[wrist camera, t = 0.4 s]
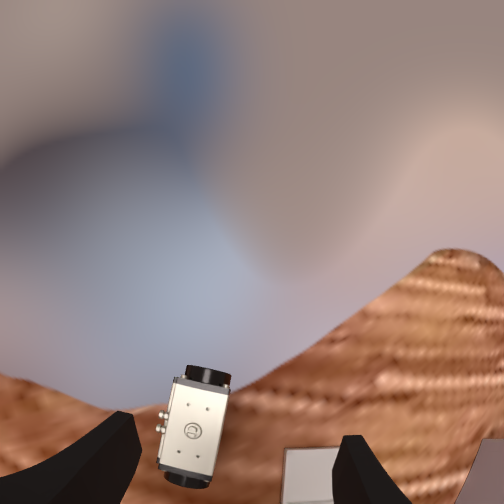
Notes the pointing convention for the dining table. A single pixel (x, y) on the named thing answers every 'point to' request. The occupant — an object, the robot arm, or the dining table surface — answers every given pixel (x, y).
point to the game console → (485, 475)
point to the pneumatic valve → (193, 426)
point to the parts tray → (308, 475)
